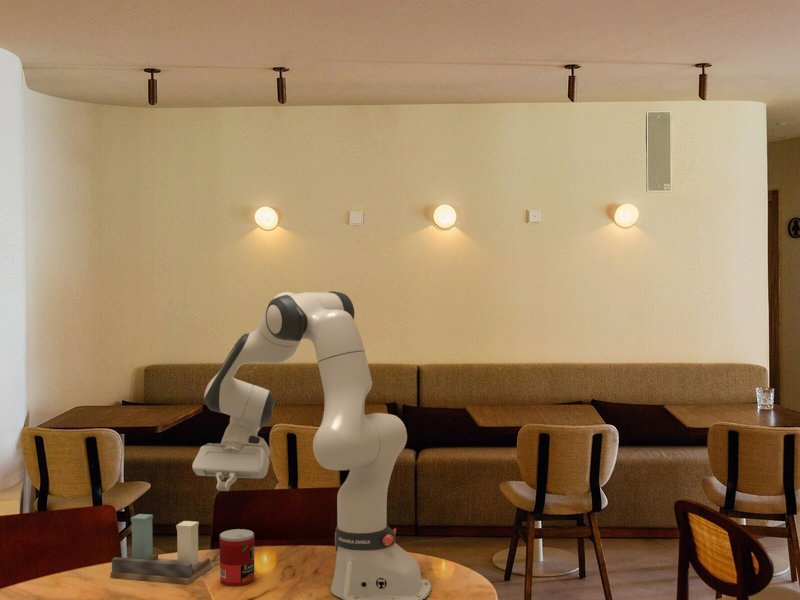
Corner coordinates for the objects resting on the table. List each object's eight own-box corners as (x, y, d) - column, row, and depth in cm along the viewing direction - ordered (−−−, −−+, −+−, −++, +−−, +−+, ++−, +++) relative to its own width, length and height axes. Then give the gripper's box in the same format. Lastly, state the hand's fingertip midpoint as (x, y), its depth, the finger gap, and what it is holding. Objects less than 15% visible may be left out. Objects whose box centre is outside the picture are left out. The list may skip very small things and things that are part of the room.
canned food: (247, 587, 193) (246, 539, 193) (214, 585, 195) (213, 537, 194) (259, 576, 201) (259, 529, 200) (227, 574, 202) (227, 528, 202)
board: (211, 567, 207) (211, 550, 207) (187, 584, 195) (187, 566, 195) (138, 561, 212) (138, 544, 212) (110, 577, 200) (110, 560, 200)
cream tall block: (199, 566, 203) (198, 521, 203) (191, 572, 199) (191, 526, 199) (184, 565, 204) (184, 520, 204) (176, 570, 200) (176, 525, 200)
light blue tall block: (153, 558, 209) (153, 514, 209) (145, 563, 206) (144, 518, 206) (139, 557, 210) (139, 513, 210) (131, 562, 207) (130, 517, 206)
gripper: (198, 436, 229) (180, 480, 219) (269, 439, 224) (254, 484, 214) (206, 449, 233) (189, 493, 224) (276, 452, 228) (261, 498, 219)
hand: (222, 489), depth 219 cm, fingers closed
